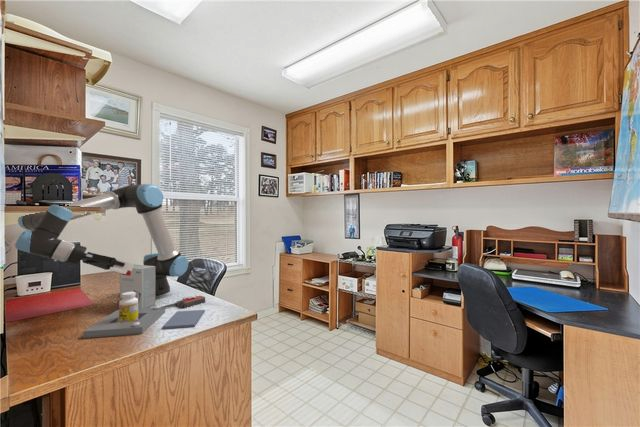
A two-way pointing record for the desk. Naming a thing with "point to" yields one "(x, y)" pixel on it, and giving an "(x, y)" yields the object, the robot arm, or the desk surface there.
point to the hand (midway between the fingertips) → (129, 269)
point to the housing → (124, 323)
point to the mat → (184, 319)
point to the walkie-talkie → (188, 302)
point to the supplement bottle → (128, 307)
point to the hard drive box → (140, 284)
